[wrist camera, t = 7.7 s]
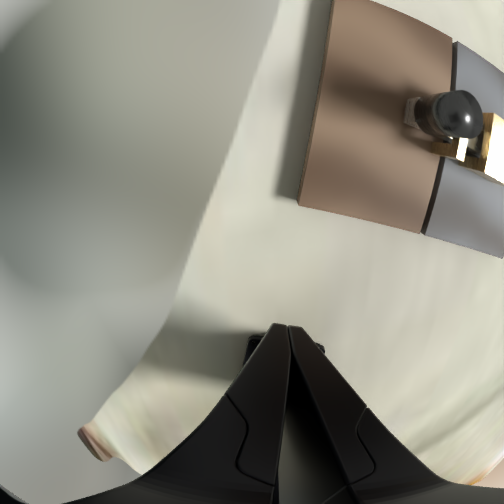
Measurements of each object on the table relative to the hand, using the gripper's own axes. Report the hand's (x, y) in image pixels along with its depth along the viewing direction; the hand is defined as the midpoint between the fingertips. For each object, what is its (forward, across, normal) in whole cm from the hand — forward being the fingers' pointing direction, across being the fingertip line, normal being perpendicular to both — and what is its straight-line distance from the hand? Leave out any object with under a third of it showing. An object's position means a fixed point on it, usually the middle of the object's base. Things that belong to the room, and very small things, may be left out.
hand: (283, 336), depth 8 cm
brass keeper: (+11, -12, -9) cm, 18 cm away
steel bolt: (+10, -10, -9) cm, 17 cm away
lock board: (+12, -11, -9) cm, 19 cm away
